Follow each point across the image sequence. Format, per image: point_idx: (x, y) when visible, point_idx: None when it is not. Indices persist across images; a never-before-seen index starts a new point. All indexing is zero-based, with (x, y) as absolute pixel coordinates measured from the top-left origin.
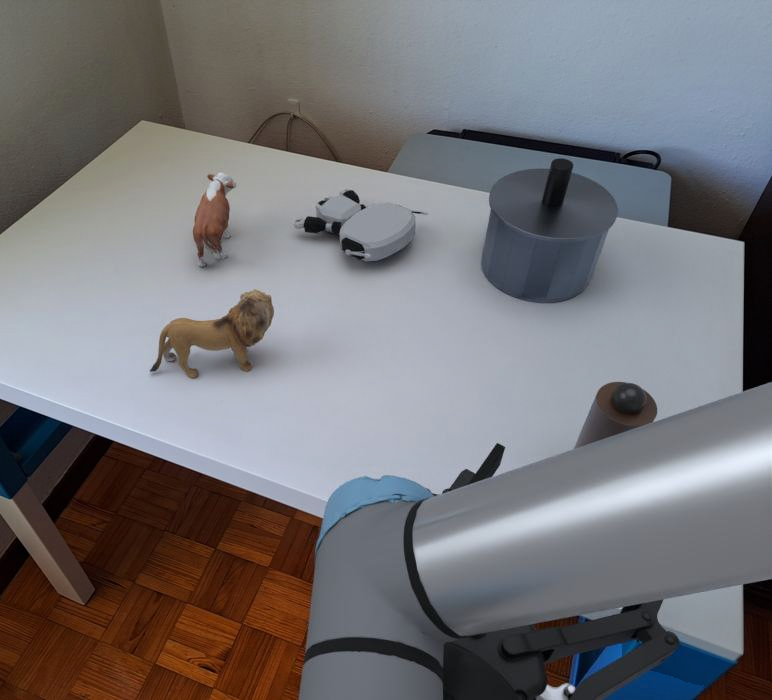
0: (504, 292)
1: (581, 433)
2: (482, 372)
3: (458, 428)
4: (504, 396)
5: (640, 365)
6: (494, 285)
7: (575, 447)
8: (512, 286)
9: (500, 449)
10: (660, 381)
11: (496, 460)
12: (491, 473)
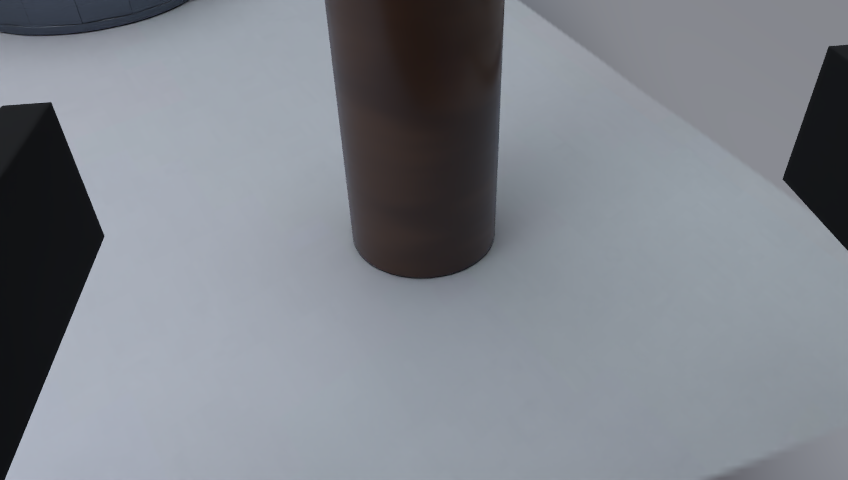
0: (42, 34)
1: (336, 46)
2: None
3: None
4: (118, 176)
5: None
6: (15, 32)
7: (343, 119)
8: (48, 7)
9: (27, 118)
10: None
11: (20, 162)
12: (47, 256)
